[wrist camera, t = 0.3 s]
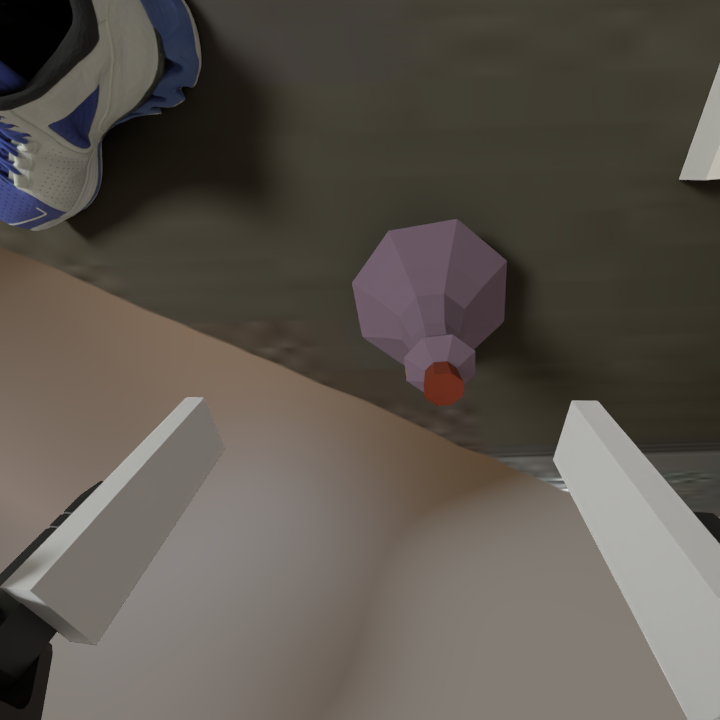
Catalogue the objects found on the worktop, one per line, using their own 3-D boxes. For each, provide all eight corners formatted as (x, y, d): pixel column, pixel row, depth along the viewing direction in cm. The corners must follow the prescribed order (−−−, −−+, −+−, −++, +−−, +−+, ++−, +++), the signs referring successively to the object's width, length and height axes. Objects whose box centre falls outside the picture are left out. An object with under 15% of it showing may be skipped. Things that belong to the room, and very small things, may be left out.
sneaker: (-17, 144, 35) (-294, 124, 21) (117, -106, 24) (-260, -476, 10) (77, 238, 39) (-102, 273, 25) (226, 59, 28) (59, -49, 15)
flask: (528, 233, 32) (667, 298, 15) (466, 364, 41) (511, 501, 24) (373, 194, 32) (338, 215, 15) (344, 333, 41) (300, 448, 24)
